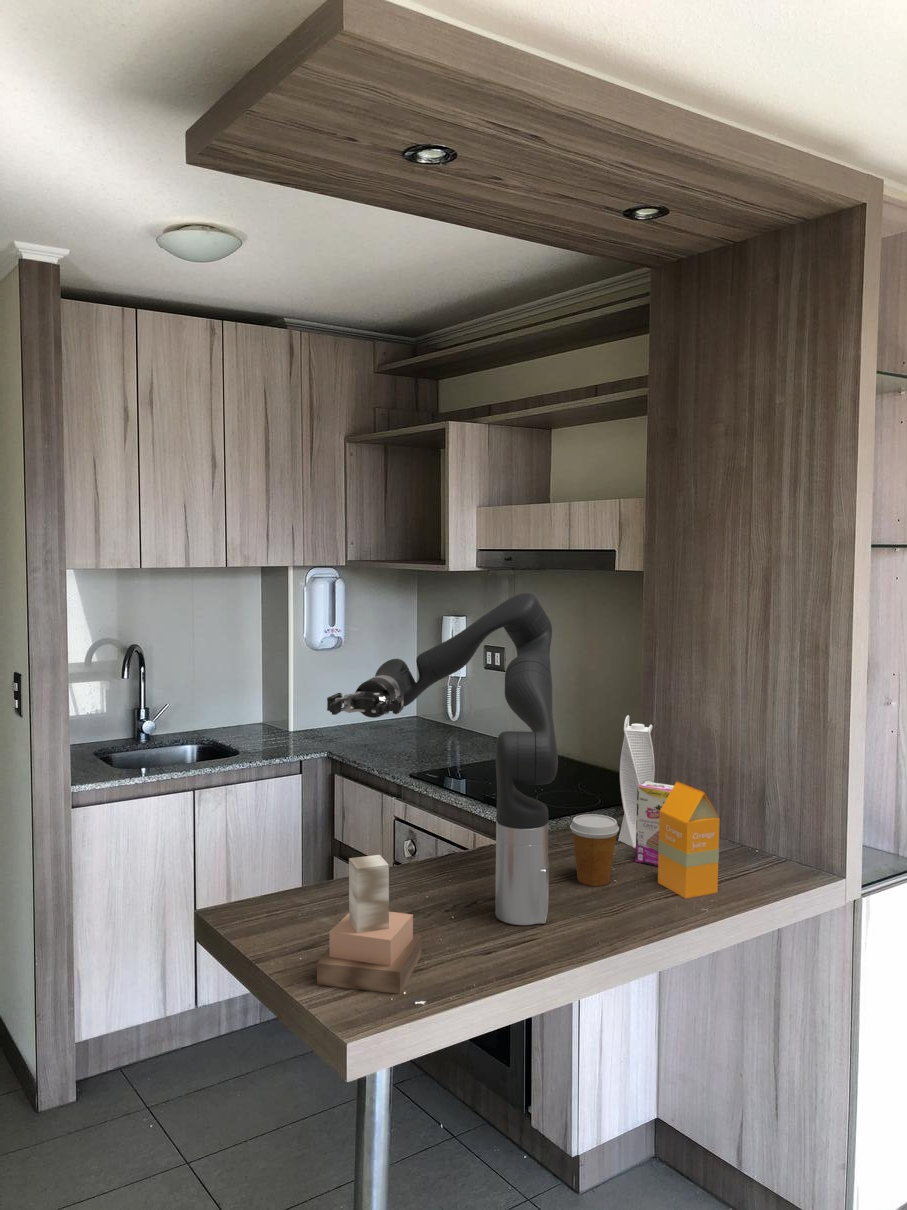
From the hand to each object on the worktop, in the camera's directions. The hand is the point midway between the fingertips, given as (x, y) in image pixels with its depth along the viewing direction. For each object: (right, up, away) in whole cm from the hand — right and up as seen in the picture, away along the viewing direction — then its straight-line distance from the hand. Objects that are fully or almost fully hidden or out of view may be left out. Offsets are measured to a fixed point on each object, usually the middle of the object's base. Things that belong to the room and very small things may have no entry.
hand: (355, 710), depth 177 cm
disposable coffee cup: (+46, -35, +10) cm, 59 cm away
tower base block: (+5, -38, -28) cm, 48 cm away
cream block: (+5, -30, -29) cm, 42 cm away
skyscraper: (+58, -33, +33) cm, 75 cm away
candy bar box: (+62, -34, +19) cm, 73 cm away
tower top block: (+6, -34, -28) cm, 45 cm away
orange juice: (+64, -35, +7) cm, 73 cm away
